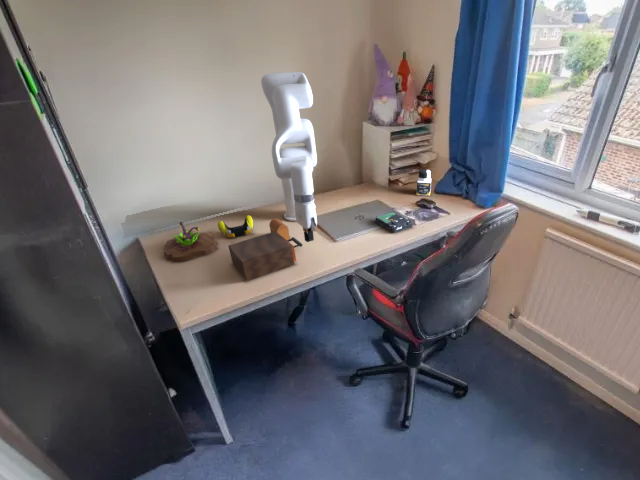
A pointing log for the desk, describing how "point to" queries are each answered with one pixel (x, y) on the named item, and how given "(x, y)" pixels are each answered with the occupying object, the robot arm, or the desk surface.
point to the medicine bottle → (424, 182)
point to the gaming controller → (236, 228)
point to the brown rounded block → (279, 228)
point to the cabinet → (261, 255)
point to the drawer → (292, 245)
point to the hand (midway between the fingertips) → (309, 240)
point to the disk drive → (394, 222)
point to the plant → (189, 245)
